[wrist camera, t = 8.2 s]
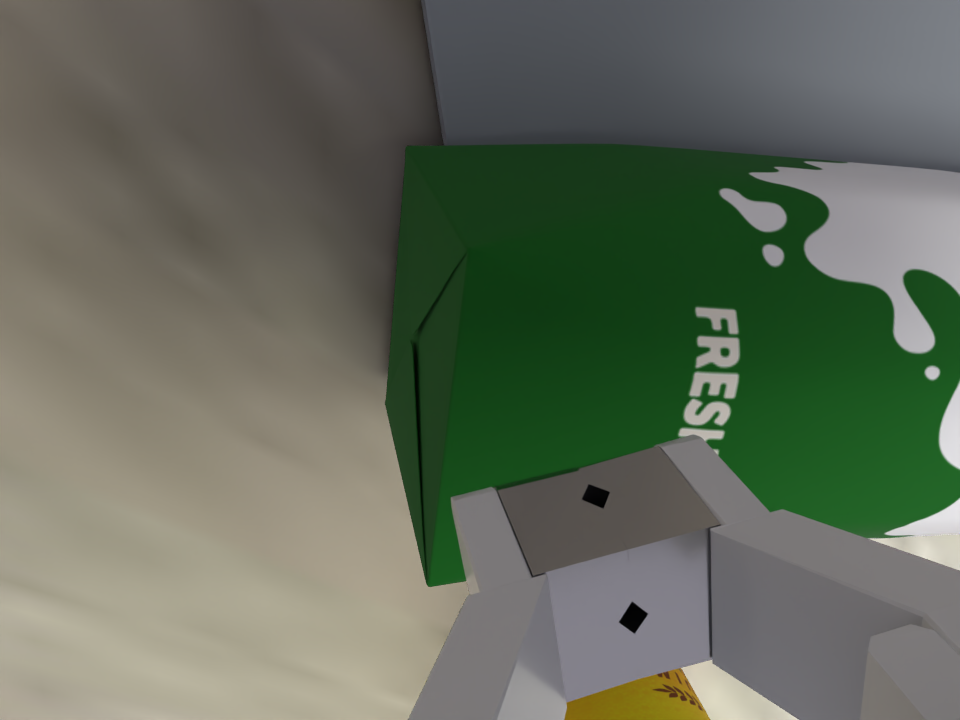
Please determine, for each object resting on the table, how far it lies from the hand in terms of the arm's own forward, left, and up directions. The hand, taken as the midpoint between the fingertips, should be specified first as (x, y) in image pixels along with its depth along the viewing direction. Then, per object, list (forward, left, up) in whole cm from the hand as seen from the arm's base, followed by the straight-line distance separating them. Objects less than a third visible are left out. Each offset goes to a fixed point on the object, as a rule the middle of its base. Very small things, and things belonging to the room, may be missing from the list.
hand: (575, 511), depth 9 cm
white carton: (+1, -1, -8) cm, 8 cm away
